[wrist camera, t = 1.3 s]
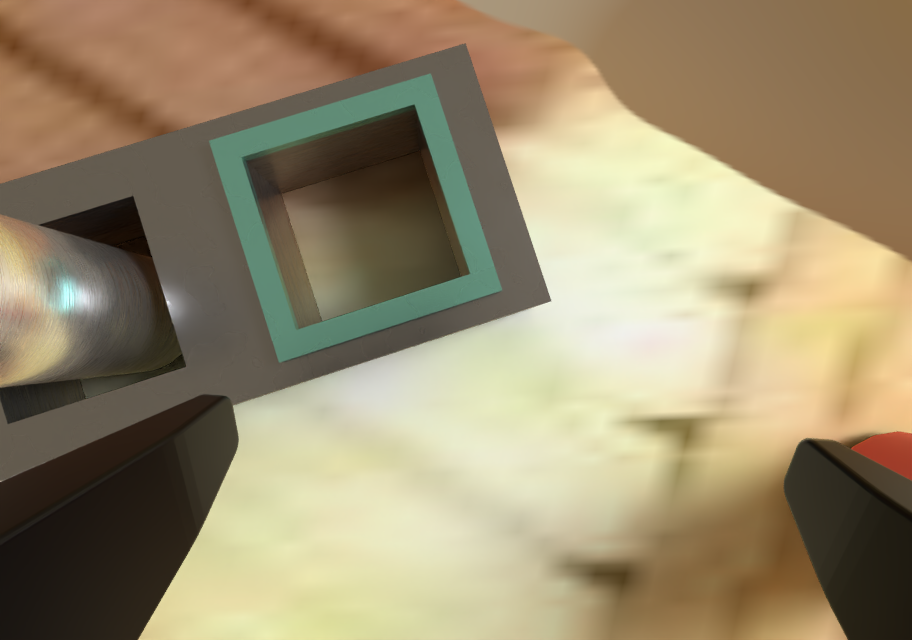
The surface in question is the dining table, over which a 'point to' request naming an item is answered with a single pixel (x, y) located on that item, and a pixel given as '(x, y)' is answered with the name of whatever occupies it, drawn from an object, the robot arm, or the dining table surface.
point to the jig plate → (276, 243)
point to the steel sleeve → (77, 308)
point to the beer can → (889, 451)
